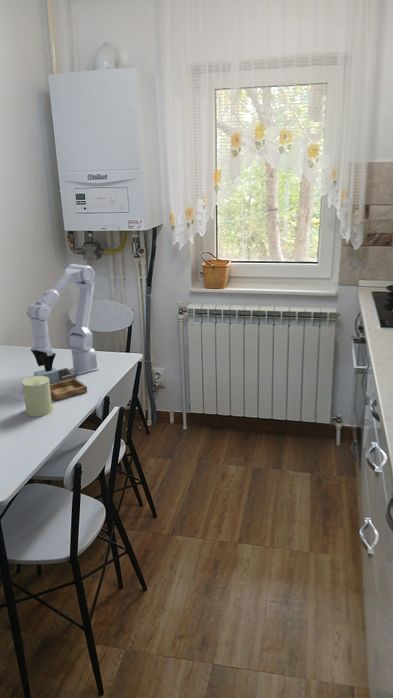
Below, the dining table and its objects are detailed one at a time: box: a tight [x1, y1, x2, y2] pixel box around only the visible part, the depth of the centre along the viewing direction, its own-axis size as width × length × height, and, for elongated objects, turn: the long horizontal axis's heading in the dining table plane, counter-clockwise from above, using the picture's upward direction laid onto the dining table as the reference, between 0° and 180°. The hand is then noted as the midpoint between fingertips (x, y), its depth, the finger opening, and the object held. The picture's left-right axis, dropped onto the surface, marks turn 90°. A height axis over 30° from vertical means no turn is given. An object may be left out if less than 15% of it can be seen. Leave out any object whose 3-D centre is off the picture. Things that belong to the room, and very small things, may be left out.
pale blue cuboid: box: [33, 367, 60, 385], centre depth 213 cm, size 8×5×6 cm, turn 127°
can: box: [21, 375, 54, 417], centre depth 191 cm, size 9×9×12 cm
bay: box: [57, 367, 77, 382], centre depth 218 cm, size 6×9×4 cm, turn 37°
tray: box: [50, 378, 88, 402], centre depth 207 cm, size 13×11×2 cm
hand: (44, 368), depth 211 cm, fingers open, 7 cm apart
